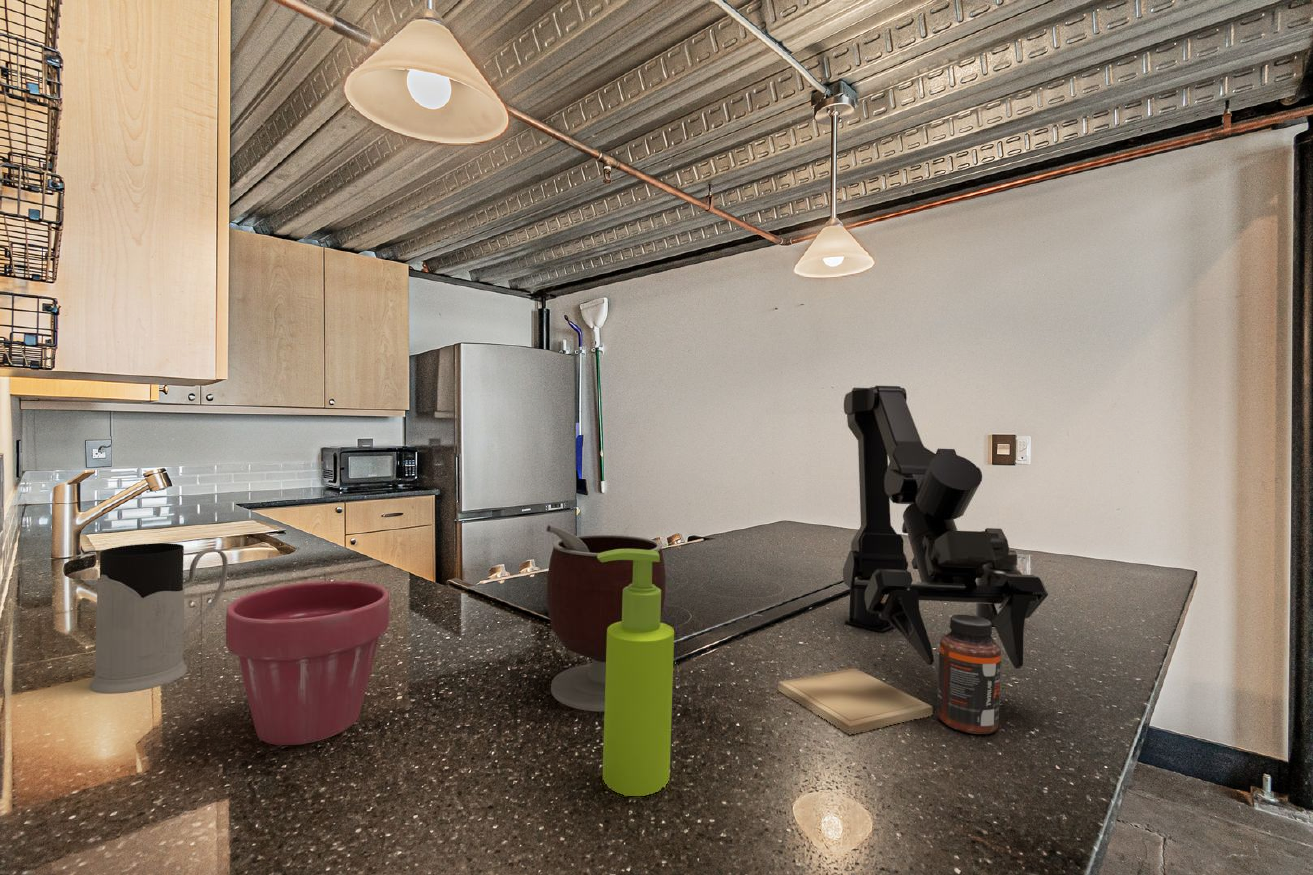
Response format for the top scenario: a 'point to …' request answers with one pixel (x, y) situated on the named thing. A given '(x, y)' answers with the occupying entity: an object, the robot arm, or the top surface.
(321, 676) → the plant pot
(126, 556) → the glass holder
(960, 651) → the supplement bottle
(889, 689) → the coaster
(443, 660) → the top surface
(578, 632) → the mate gourd
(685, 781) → the top surface
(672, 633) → the soap dispenser
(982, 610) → the supplement bottle
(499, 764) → the top surface
